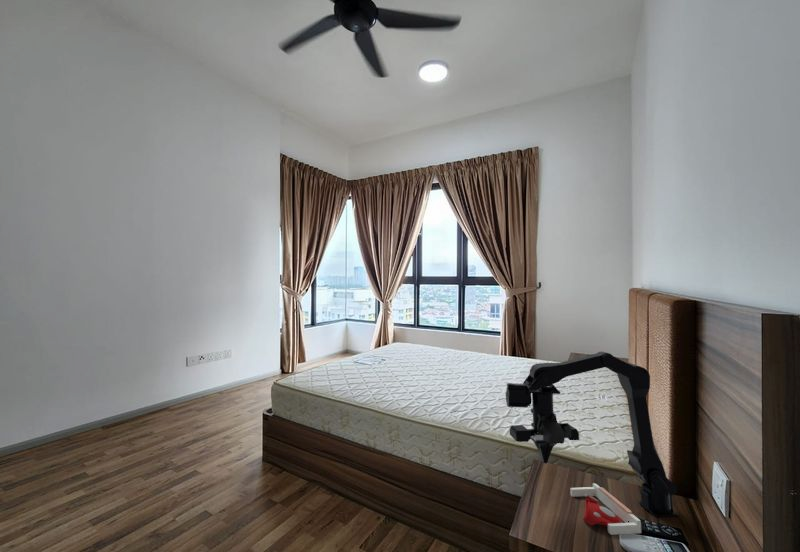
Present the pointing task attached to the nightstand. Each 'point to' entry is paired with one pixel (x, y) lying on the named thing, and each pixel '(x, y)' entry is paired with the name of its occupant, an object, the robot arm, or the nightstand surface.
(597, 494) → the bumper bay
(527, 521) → the nightstand surface
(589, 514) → the tracker holder
